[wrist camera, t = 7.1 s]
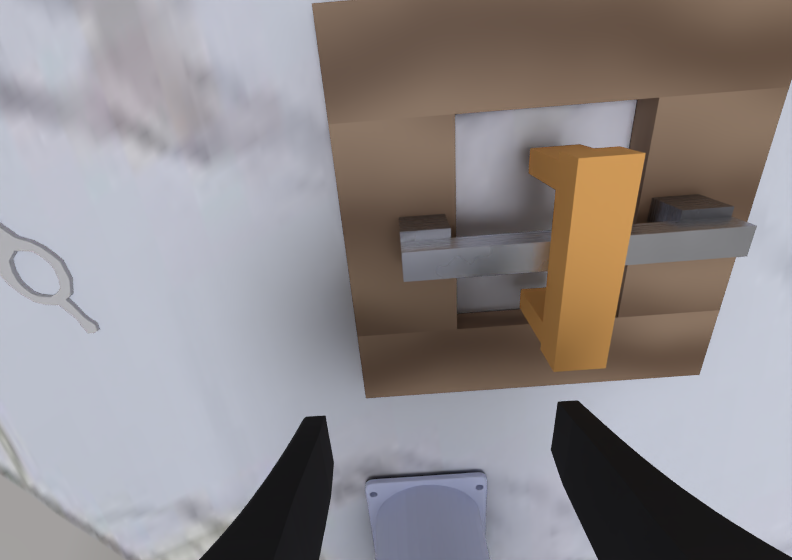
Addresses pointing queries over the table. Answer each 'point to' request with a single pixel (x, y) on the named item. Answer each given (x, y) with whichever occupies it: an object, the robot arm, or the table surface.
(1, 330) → the table surface
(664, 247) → the hook bar
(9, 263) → the scissors
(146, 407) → the table surface
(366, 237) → the brown wooden frame
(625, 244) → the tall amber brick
